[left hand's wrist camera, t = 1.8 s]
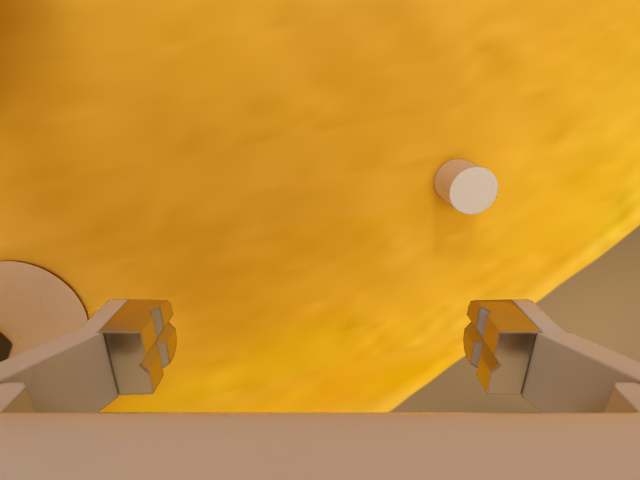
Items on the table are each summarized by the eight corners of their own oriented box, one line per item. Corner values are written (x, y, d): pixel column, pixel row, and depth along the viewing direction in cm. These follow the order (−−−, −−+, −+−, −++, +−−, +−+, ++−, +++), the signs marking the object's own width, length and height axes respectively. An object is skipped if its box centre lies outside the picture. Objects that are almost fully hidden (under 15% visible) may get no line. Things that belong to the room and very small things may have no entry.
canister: (485, 173, 40) (508, 183, 35) (458, 208, 41) (477, 223, 36) (451, 150, 39) (470, 157, 34) (425, 187, 40) (439, 199, 36)
